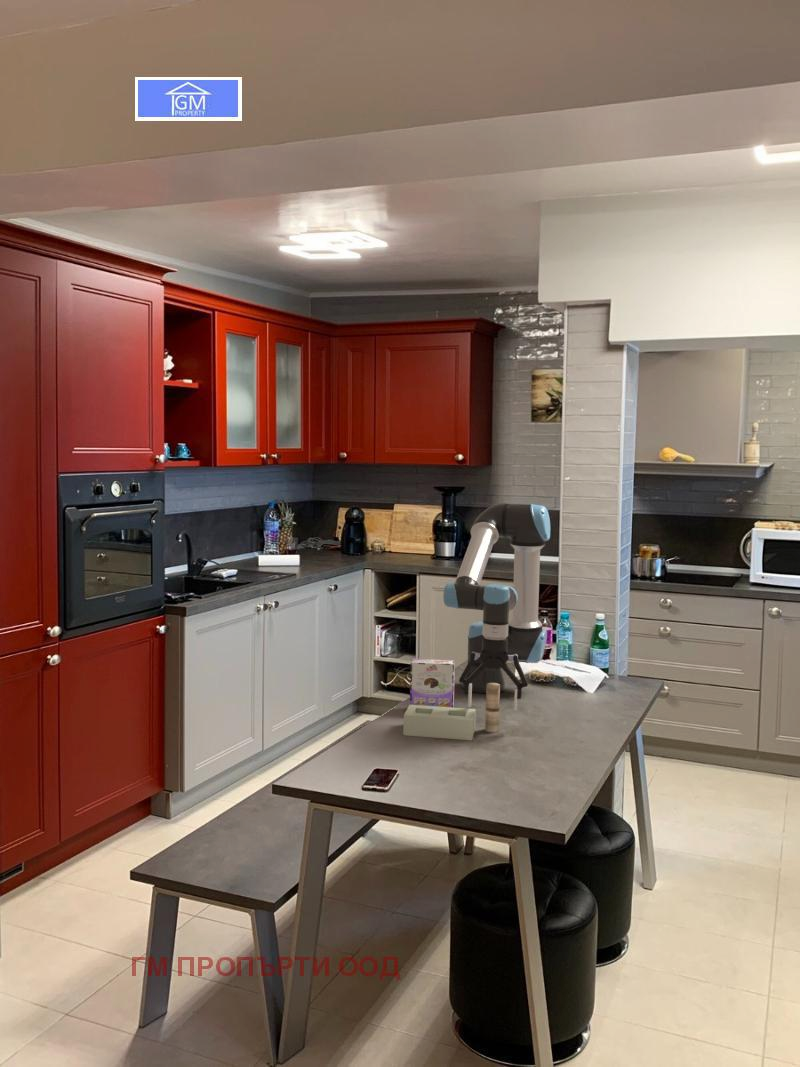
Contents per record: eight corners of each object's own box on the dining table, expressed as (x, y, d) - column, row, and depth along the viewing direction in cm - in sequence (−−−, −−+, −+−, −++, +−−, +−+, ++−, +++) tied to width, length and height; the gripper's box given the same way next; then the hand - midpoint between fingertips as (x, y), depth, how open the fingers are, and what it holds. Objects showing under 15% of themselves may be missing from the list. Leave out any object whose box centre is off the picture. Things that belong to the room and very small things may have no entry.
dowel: (485, 727, 286) (486, 682, 284) (499, 728, 285) (500, 683, 284) (484, 732, 282) (485, 686, 280) (498, 733, 281) (499, 686, 280)
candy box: (453, 709, 304) (455, 659, 302) (452, 715, 298) (454, 663, 296) (410, 707, 305) (412, 657, 303) (409, 713, 299) (410, 661, 297)
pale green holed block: (409, 723, 288) (409, 704, 287) (475, 728, 285) (475, 709, 284) (403, 735, 277) (403, 715, 276) (471, 740, 274) (472, 720, 273)
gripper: (451, 637, 279) (449, 708, 281) (537, 642, 275) (534, 714, 277) (454, 632, 286) (452, 701, 288) (538, 637, 282) (535, 707, 284)
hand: (492, 707), depth 283 cm, fingers open, 13 cm apart
